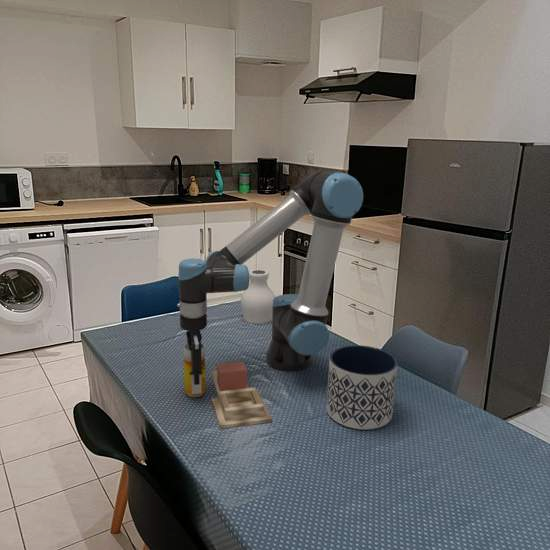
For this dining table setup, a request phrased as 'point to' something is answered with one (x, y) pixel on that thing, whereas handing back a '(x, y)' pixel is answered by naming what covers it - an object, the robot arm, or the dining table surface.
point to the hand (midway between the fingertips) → (195, 387)
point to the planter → (361, 386)
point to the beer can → (189, 369)
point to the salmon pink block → (231, 376)
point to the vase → (257, 299)
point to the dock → (239, 406)
